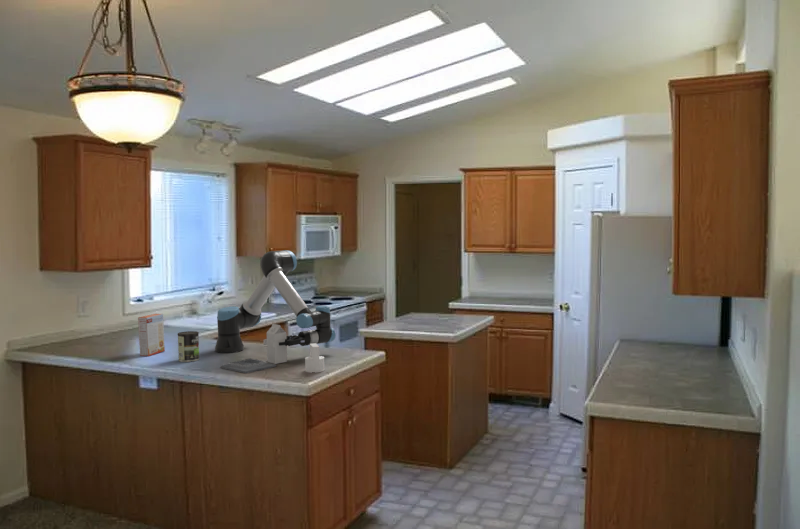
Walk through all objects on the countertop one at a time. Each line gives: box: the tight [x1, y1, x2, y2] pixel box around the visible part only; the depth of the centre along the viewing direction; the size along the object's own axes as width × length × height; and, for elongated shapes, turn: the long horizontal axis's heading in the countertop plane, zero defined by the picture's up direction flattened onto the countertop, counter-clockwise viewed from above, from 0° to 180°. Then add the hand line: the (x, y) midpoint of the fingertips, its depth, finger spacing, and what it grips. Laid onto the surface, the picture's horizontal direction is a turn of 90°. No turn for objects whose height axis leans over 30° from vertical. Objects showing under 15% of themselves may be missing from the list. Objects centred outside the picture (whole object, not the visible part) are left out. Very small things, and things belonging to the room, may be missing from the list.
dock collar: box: [229, 358, 268, 369], centre depth 321 cm, size 12×12×2 cm
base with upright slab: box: [304, 343, 325, 374], centre depth 312 cm, size 9×9×12 cm
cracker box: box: [137, 313, 166, 357], centre depth 357 cm, size 14×6×21 cm, turn 163°
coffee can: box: [177, 330, 200, 363], centre depth 340 cm, size 10×10×14 cm
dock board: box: [219, 362, 277, 374], centre depth 321 cm, size 20×18×1 cm
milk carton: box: [266, 323, 288, 365], centre depth 331 cm, size 7×7×19 cm
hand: (268, 343), depth 328 cm, fingers open, 8 cm apart
